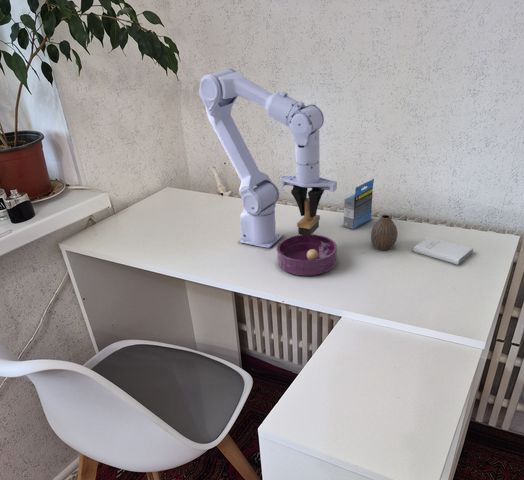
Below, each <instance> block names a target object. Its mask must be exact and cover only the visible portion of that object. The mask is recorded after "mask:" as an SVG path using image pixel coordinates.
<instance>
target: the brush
mask: <svg viewBox="0 0 524 480" xmlns="http://www.w3.org/2000/svg"><path fill="white" fill-rule="evenodd" d="M320 219H321V215H320V214H316V215H315V216H314V217H313V218H312V217H311V216H310V201H309V197H307V198H305V199H304V216H302V218H301V219H300V220H299V221H297V223H296V227H297V229H298V230H297V231H298V233H297V235H306V236H310V235H311V234H313V233H314V232H315V231H316V230H317V229H319V228H320Z"/></svg>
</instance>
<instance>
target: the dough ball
mask: <svg viewBox="0 0 524 480" xmlns="http://www.w3.org/2000/svg"><path fill="white" fill-rule="evenodd" d="M307 258H308V259H309V260H315V259H317V258H318V252H317V251H316V250H314V249H311V250H309V251H308V252H307Z"/></svg>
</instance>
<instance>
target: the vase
mask: <svg viewBox="0 0 524 480" xmlns="http://www.w3.org/2000/svg"><path fill="white" fill-rule="evenodd" d="M398 235H399V231H398V227H397V225H396V223H395V222H394V221H393V219H392V216H391V215H390V214H382V215H381V216H380V217H379V219H378V220H377V221H376V222H375V223H374V225H373V226H372V229H371V230H370V241H371V244H372V246H373V247H374V248H375V249H376V250H378V251H389V250H390V249H392V248H393V247H394V246H395V245H396V242H397V240H398Z"/></svg>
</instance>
